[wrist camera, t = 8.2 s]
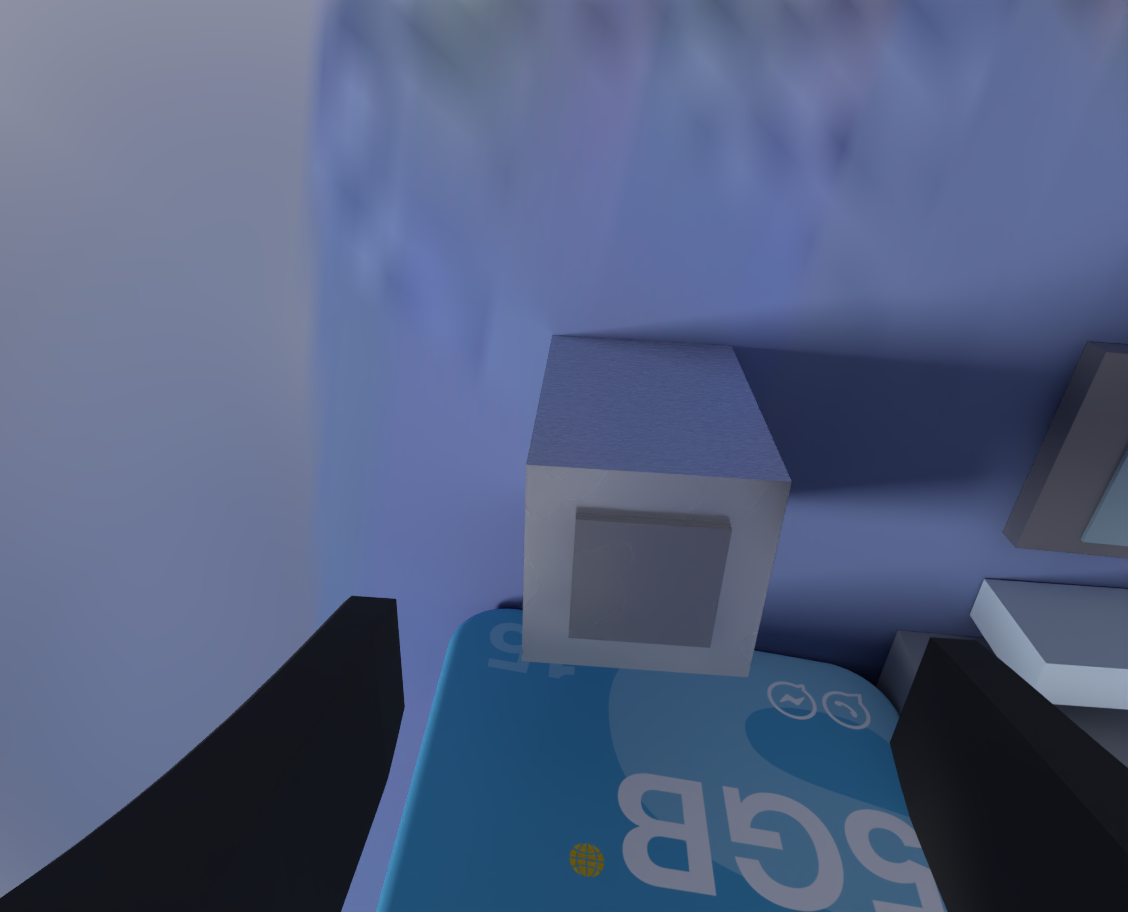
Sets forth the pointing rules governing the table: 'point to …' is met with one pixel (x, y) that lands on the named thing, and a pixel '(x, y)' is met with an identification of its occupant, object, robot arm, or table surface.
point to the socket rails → (1060, 638)
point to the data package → (652, 790)
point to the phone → (1081, 465)
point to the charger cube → (1109, 727)
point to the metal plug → (648, 509)
